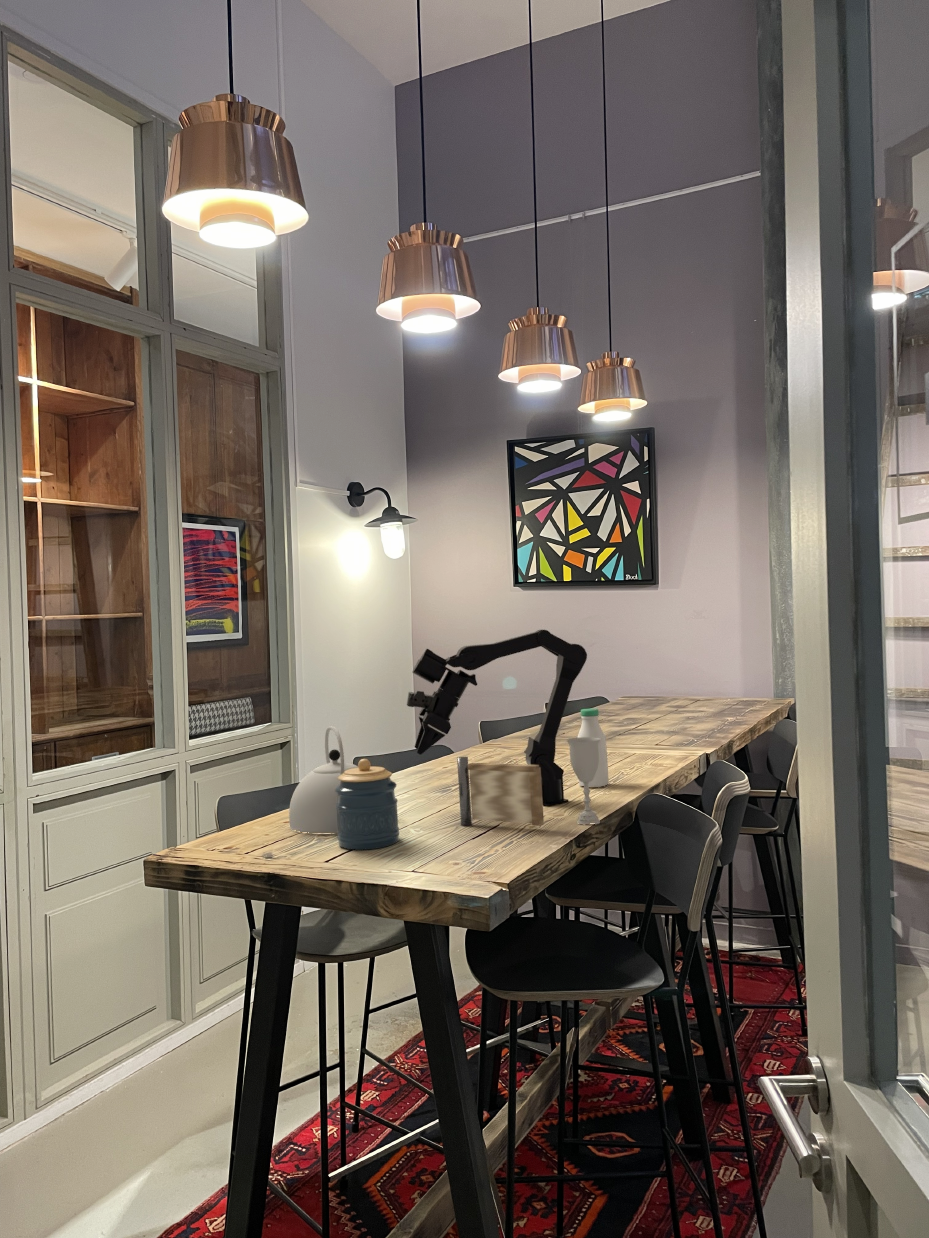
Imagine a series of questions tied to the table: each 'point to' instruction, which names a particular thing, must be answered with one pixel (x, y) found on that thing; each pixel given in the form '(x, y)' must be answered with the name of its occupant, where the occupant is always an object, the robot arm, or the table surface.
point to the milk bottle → (593, 729)
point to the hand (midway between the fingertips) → (417, 751)
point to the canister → (366, 808)
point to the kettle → (319, 794)
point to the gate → (506, 792)
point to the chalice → (585, 770)
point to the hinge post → (464, 791)
